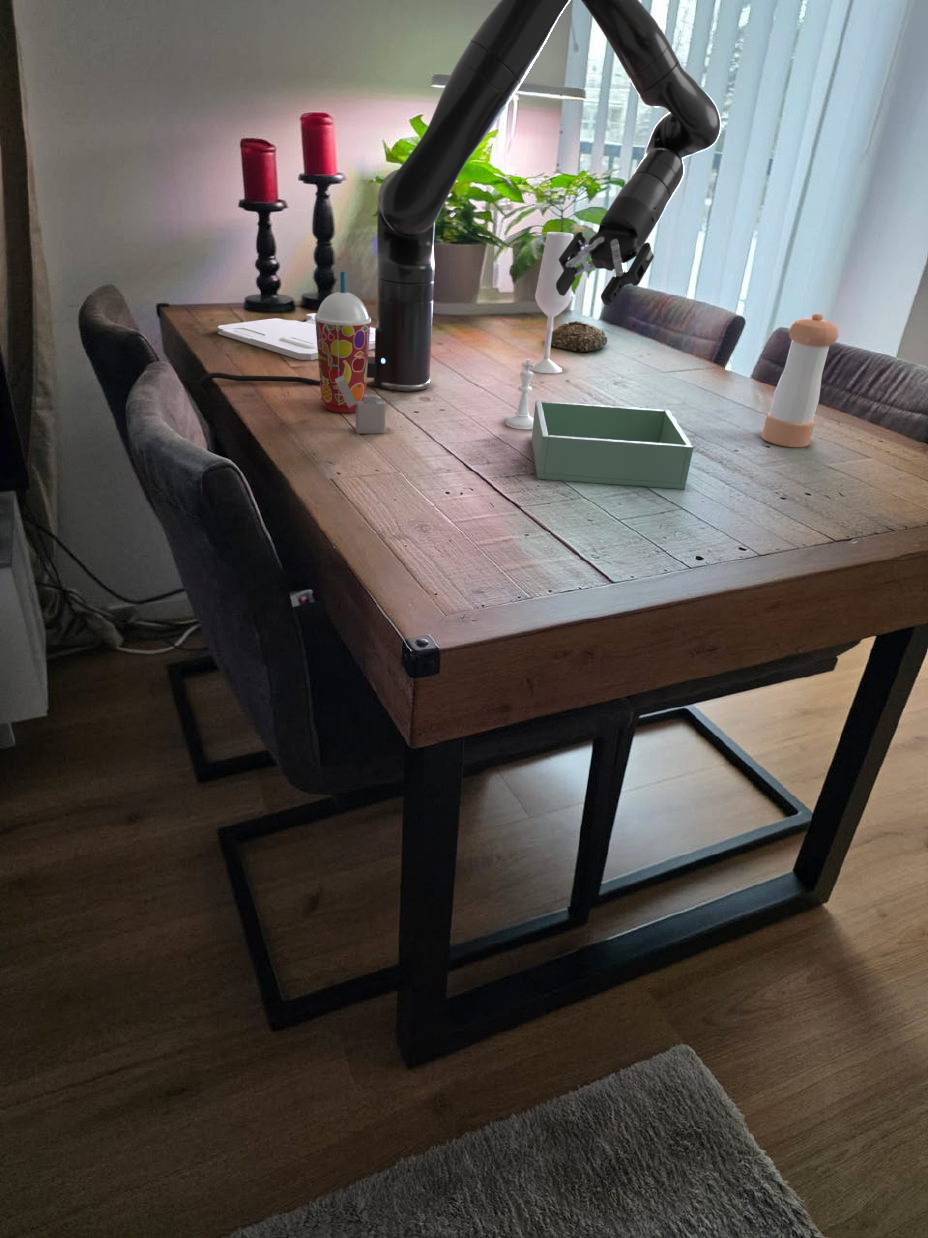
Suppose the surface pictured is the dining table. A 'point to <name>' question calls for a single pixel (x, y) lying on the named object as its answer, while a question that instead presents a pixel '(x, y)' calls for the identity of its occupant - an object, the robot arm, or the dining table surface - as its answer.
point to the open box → (609, 445)
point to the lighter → (365, 409)
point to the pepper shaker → (800, 383)
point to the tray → (282, 336)
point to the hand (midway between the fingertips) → (581, 296)
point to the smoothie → (342, 347)
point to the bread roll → (578, 337)
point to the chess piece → (523, 402)
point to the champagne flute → (551, 293)
